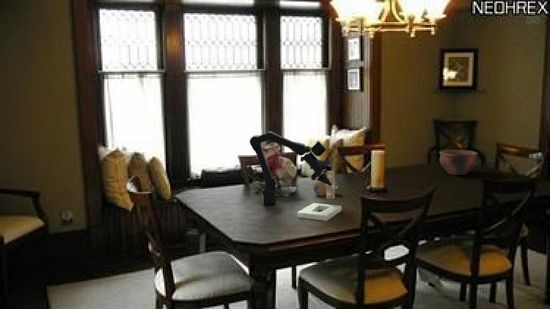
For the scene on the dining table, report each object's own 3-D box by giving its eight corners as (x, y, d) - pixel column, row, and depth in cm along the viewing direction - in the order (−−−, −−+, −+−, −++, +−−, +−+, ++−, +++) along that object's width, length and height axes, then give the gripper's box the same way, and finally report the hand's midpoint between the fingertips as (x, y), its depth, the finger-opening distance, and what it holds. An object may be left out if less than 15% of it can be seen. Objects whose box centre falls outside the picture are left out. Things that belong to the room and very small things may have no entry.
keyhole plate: (326, 220, 260) (326, 215, 259) (297, 217, 267) (297, 212, 267) (341, 210, 277) (341, 206, 276) (313, 207, 284) (313, 203, 284)
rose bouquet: (293, 197, 307) (292, 146, 302) (246, 195, 317) (244, 145, 312) (305, 187, 331) (304, 140, 326) (261, 185, 341) (260, 139, 336)
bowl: (480, 171, 366) (481, 150, 363) (472, 178, 345) (473, 155, 343) (443, 169, 379) (444, 148, 376) (434, 175, 358) (434, 153, 356)
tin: (314, 196, 310) (314, 182, 308) (313, 195, 313) (312, 181, 311) (339, 194, 312) (339, 180, 311) (337, 193, 315) (337, 179, 314)
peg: (328, 199, 281) (327, 173, 278) (325, 197, 285) (324, 171, 283) (335, 198, 282) (335, 172, 280) (332, 196, 286) (332, 171, 284)
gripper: (316, 155, 273) (336, 177, 270) (329, 150, 289) (349, 171, 286) (302, 169, 278) (322, 191, 275) (316, 163, 294) (335, 184, 291)
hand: (332, 184), depth 282 cm, fingers closed on peg, 4 cm apart
